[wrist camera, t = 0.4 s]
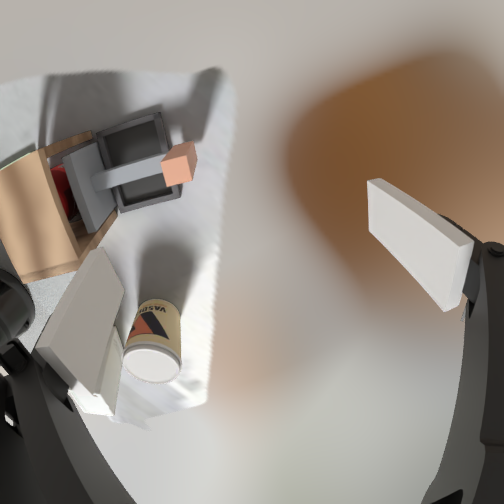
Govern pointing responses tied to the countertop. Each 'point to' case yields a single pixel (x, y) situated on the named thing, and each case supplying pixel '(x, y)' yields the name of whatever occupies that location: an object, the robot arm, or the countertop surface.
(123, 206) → the tray
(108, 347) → the skincare box
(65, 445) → the robot arm
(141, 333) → the coffee cup
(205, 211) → the countertop surface
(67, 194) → the canned food
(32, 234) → the tunnel
